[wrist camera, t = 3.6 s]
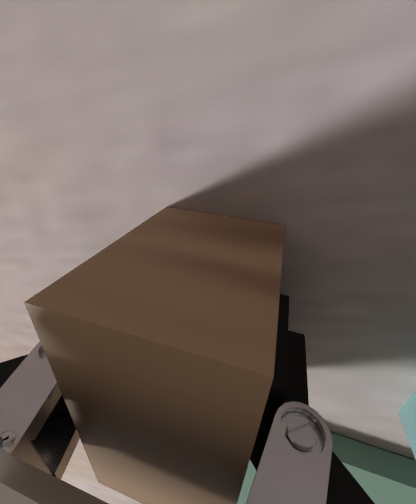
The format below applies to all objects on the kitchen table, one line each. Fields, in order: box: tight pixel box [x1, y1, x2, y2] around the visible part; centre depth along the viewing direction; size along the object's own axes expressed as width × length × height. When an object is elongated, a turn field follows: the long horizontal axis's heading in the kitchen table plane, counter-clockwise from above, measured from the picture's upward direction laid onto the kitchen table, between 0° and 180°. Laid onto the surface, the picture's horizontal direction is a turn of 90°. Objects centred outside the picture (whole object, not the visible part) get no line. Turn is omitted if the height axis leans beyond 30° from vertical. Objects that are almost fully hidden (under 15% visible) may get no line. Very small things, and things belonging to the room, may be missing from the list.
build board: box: [237, 432, 416, 504], centre depth 15 cm, size 12×12×1 cm
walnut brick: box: [24, 207, 285, 504], centre depth 8 cm, size 8×4×6 cm, turn 177°
